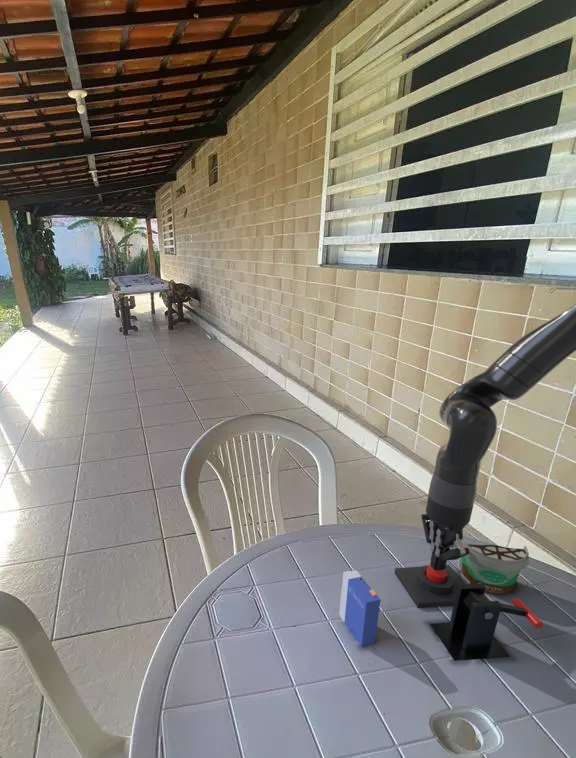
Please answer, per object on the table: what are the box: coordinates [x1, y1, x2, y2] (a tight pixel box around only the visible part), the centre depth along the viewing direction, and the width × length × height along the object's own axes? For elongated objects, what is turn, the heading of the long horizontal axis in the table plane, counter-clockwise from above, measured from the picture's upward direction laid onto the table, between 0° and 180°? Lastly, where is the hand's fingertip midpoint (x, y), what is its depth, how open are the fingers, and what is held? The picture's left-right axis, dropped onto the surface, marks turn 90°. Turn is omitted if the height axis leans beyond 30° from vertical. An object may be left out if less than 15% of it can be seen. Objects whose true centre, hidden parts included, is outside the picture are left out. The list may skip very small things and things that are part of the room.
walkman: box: [338, 569, 381, 648], centre depth 79 cm, size 8×3×12 cm, turn 11°
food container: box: [460, 539, 530, 596], centre depth 87 cm, size 12×6×10 cm, turn 76°
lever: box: [463, 591, 544, 629], centre depth 74 cm, size 12×6×2 cm, turn 91°
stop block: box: [393, 564, 467, 609], centre depth 89 cm, size 12×10×4 cm
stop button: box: [426, 564, 447, 584], centre depth 88 cm, size 4×4×2 cm
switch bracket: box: [428, 583, 512, 662], centre depth 75 cm, size 10×8×12 cm
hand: (436, 567), depth 87 cm, fingers closed
